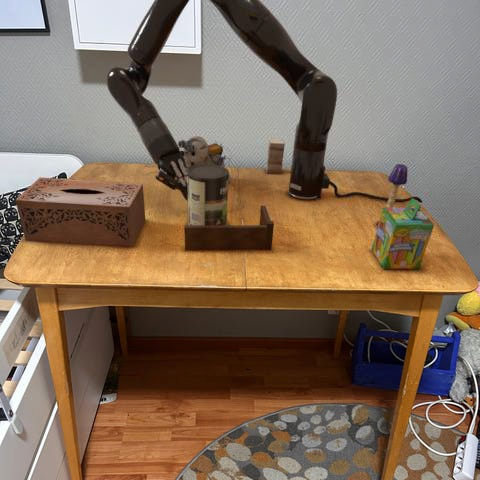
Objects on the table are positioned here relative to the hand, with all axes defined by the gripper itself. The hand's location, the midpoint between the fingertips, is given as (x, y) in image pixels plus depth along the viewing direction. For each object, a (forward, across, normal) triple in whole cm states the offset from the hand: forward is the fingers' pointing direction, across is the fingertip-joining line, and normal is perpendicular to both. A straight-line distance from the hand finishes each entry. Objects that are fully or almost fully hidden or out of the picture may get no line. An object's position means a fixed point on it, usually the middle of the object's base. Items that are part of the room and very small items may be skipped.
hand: (192, 200), depth 123 cm
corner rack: (+14, -3, -7) cm, 15 cm away
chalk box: (+39, +18, -33) cm, 54 cm away
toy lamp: (+32, +33, -26) cm, 52 cm away
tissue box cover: (-5, -24, +13) cm, 28 cm away
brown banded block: (-1, +45, +8) cm, 46 cm away
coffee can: (+7, 0, 0) cm, 7 cm away
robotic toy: (-7, +20, +14) cm, 25 cm away
